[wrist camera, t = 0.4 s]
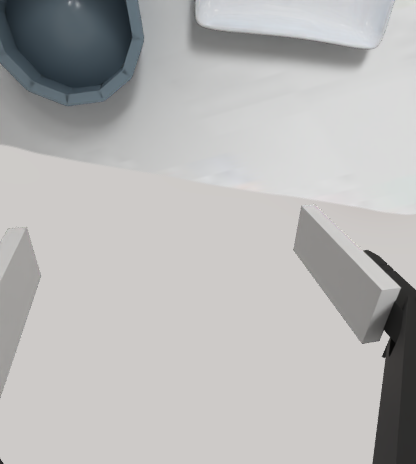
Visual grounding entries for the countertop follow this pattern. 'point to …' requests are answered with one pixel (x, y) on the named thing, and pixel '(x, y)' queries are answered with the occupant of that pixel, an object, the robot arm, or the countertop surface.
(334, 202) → the countertop surface
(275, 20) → the salad plate
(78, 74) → the bowl
